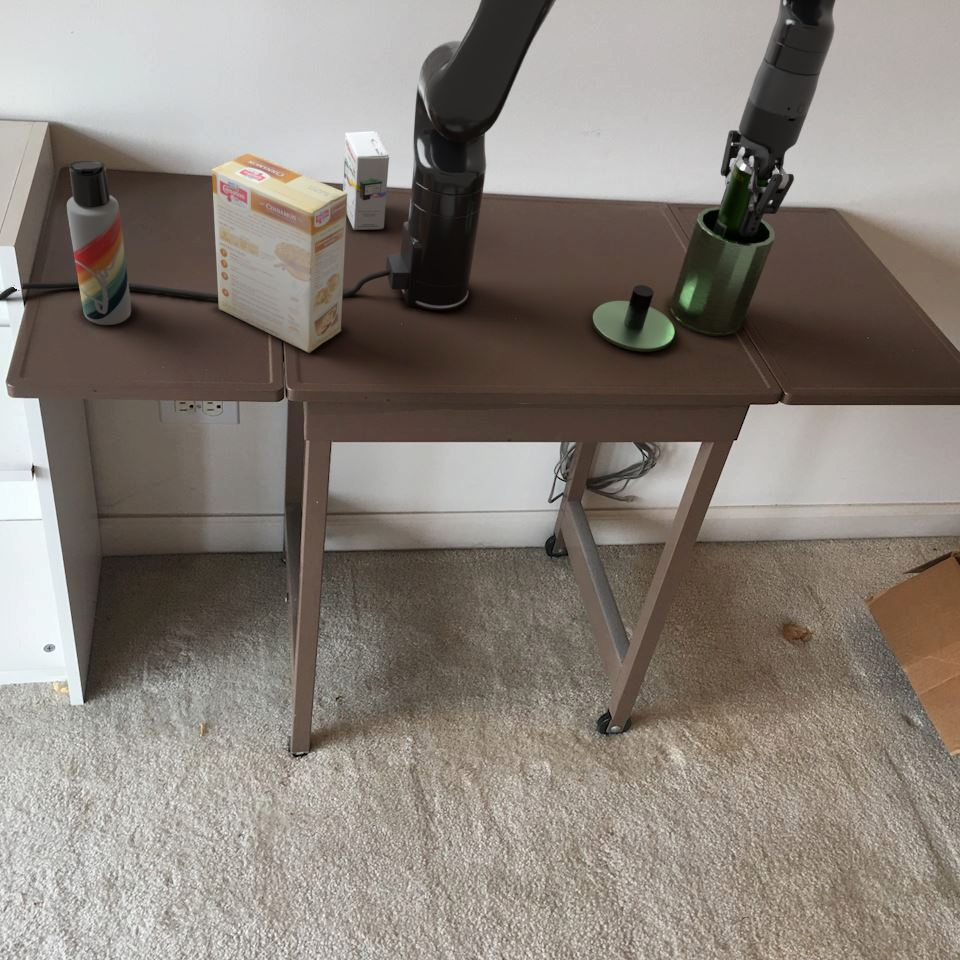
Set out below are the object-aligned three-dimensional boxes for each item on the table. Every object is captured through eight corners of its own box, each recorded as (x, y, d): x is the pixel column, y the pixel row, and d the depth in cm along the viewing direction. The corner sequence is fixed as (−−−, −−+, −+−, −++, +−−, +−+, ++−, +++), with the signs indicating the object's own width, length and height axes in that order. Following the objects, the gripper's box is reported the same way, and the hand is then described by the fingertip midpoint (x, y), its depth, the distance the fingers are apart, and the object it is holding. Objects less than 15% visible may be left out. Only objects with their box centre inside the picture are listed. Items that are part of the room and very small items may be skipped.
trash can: (701, 342, 137) (733, 251, 127) (655, 302, 143) (682, 212, 134) (755, 328, 142) (790, 239, 132) (708, 290, 148) (738, 202, 138)
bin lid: (624, 362, 131) (636, 321, 126) (575, 316, 138) (584, 275, 133) (689, 345, 136) (702, 305, 132) (638, 301, 143) (649, 261, 138)
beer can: (729, 255, 132) (758, 172, 124) (702, 236, 135) (729, 153, 127) (756, 248, 134) (787, 166, 126) (729, 229, 137) (758, 148, 129)
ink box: (340, 203, 152) (344, 129, 144) (371, 202, 154) (376, 130, 146) (352, 230, 146) (356, 156, 138) (384, 229, 148) (390, 155, 140)
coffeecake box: (342, 330, 127) (350, 192, 114) (308, 355, 122) (312, 213, 109) (253, 287, 132) (249, 149, 118) (216, 309, 127) (209, 168, 114)
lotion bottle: (83, 327, 120) (58, 174, 107) (84, 301, 124) (60, 151, 111) (132, 325, 122) (113, 175, 108) (131, 300, 126) (113, 152, 112)
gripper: (727, 76, 125) (689, 198, 137) (781, 125, 115) (735, 252, 127) (777, 78, 127) (736, 198, 139) (834, 126, 118) (785, 251, 129)
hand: (736, 223), depth 133 cm, fingers closed on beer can, 5 cm apart
